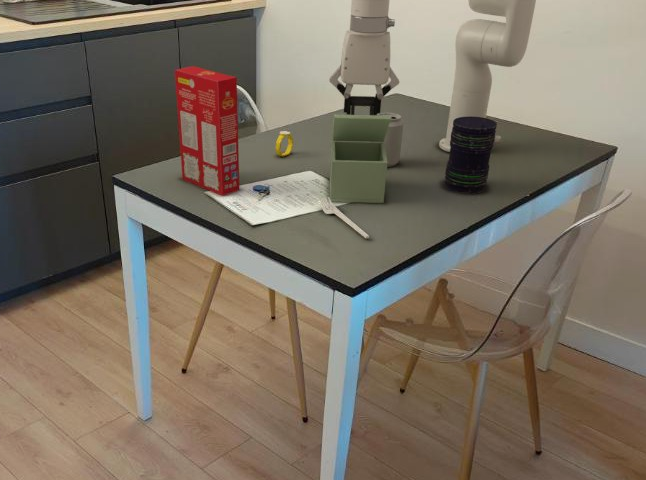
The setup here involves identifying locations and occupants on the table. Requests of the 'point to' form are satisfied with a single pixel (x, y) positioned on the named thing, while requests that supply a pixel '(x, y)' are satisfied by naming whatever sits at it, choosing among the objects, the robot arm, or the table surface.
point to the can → (393, 138)
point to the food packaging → (208, 129)
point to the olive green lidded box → (358, 172)
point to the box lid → (360, 123)
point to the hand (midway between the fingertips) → (361, 115)
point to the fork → (340, 215)
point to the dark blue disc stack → (469, 154)
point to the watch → (279, 140)
